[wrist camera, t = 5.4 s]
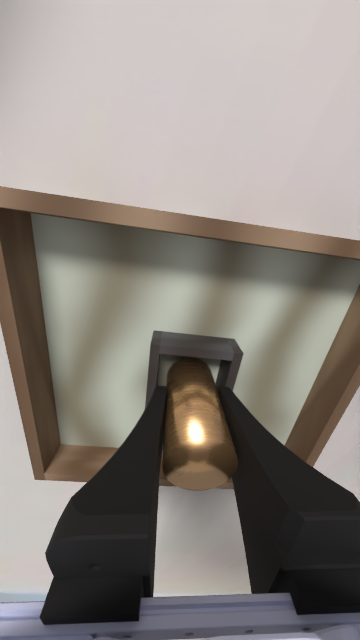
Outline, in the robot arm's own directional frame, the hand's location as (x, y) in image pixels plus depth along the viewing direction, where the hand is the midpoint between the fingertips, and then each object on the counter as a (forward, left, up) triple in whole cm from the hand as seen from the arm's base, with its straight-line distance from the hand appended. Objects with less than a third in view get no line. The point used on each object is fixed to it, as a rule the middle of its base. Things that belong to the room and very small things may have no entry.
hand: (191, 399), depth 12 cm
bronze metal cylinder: (0, 0, -2) cm, 2 cm away
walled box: (0, 0, -4) cm, 4 cm away
